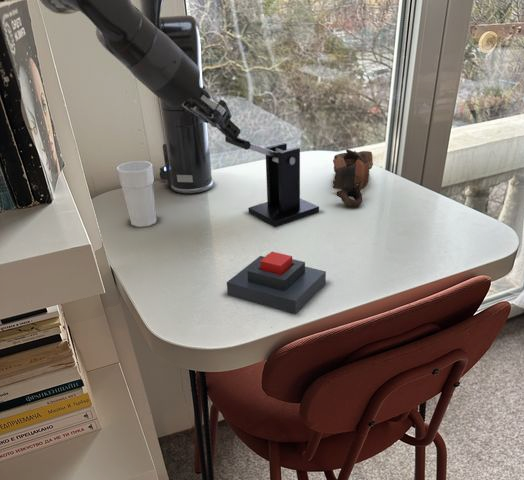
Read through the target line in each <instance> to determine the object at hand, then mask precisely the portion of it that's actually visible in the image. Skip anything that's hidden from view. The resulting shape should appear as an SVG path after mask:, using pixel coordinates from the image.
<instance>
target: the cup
mask: <svg viewBox="0 0 524 480" xmlns="http://www.w3.org/2000/svg"><path fill="white" fill-rule="evenodd" d="M153 168H154V167H153V164H152V163H151V162H150V161H146V160H134V161H132V160H131V161H127V162H123V163H120V164H119V165H118V166H117V167H116V172H117V176H118V180H119V184H120V186H121V188H122V193H123V196H124V199H125V204H126V209H127V211H128V215H129V219H130V224H131V226H134V227H137V228H142V227H150V226H152V225H154V224H156V223H157V211H156V203H155V192H154V182H155V177H154V169H153Z"/></svg>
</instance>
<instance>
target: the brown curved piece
mask: <svg viewBox="0 0 524 480" xmlns="http://www.w3.org/2000/svg"><path fill="white" fill-rule="evenodd" d="M356 152H357V151H356ZM346 153H347V152H341V153H337V154H335V155H334V156H333V160H334V159H338V158H343V159H344V156H345V155H346ZM357 153H362V154H364V155H365V157H366V158H367V161H368V165H369V170H371V169H372V168H373V166H374V160H373V152H372V151H368V150H362V151H358V152H357ZM357 160H360V159H359V158H358V157H357V158H355V159H345V160H344V162H345V163H346V165H349V164H355V162H356V161H357ZM333 172H334V173H335V167H334V166H333Z"/></svg>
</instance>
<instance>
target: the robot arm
mask: <svg viewBox="0 0 524 480" xmlns="http://www.w3.org/2000/svg"><path fill="white" fill-rule="evenodd" d="M139 1H140V3H139V4H140V9H138V8H137V7H136V6H135V5H134V4H133V3H132V1H131V0H39V2H40V3H41V4H42V5H43V6H44V7H45V8H46V9H47V10H49V11H50V12H52V13H54V14H57V15H58V14H59V15H72V14H75V13H79V12H81V13H82V14H83V15H84V16H85V17H87V19H88V20H90V22H91V23H92V24H93V25H94V26H95V36H96V39H97V41H98V42H99V43H100V44H101V46H102V47H103V48H104V49H105V50H106V51H107V52H108V53H110V54H111V55H112V56H113V57H114V58H115V59H116V60H117V61H119V63H120V64H122V65H123V66H124V67H126V69H127V70H128V71H129V72H130V73H131V74H132V75H133V76H134V77H135V78H136V79H137V80H138V81H139V82H140V83H141V84H142V85H143V86H145V87H146V88H147V89H148V90H149V91H150V92H151V93H153V94H154V95H155V96H156V97H157V98H159V105H160V107H159V108H160V113H161V121H162V128H163V133H164V134H163V135H164V140H165V141H164V142H165V143H163V144H162V153H163V157H164V158H163V160H164V165H163V166H161V167H160V168H159V177H160V179H161V180H164V181H166V182H167V188H169V189H171V190H172V191H173V192H175V193H178V194H188V195H189V194H199V193H203V192H206V191H208V190H210V189H212V188H213V186H214V180H213V175H212V162H211V152H210V142H209V133H208V132H209V131H208V124H210V126H211V127H212V128H216V129H217V130H218V131H219V132H221V134H223V135H224V136H225V137H227V138H228V139H231V140H233V141H235V140H236V139H237V137H238V138H239V136H240V134H241V129H240V128H239V127H238V126H237V125H236V124H235V123H234V122H233V121H232V120H231V119H232V117H233V115H232V112H231V110H230V109H229V106H228V104H227V102H226V101H225V100H222V99H220V100H218V99H216V97H214V96H213V92H212V91H211V90H210V89H209V88H207V87H206V86H204V80H203V70H202V68H203V67H202V66H203V65H202V46H201V45H202V44H201V33H200V29H199V25H198V24H199V23H198V22H197V20H196V18H195V17H194V16H193V15H190V14H188V15H187V14H185V15H169V16H161V12H162V6H163V3H164V0H139Z"/></svg>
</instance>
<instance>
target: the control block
mask: <svg viewBox="0 0 524 480" xmlns="http://www.w3.org/2000/svg"><path fill="white" fill-rule="evenodd" d="M267 255H268V254H266V255H265V256H263V255H260V256H258V257H257V258H256V259H254V260H253V261H252V262H250V263H249V264H248V265H247V266H246V267H244V268H243V269H242V270H240V271H239V272H238V273H236V274H234V276H232V277H231V278H230V279H229V280H228V281H226V289H227V290H226V291H227V295H228V296H232V297H235V298H237V299H242V300H246V301H248V302H253V303H256V304H259V305H263V306H267V307H270V308H274V309H278V310H282V311H285V312H288V313H291V314H297V313H298V312H299V311H300V310H301V309H302V308H303V307H304V306H305V305H306V304H307V303H308V302H309V301H310V300H311V299H312V298H313V297H314V296H315V295H316V294H317V293H318V292H319V291H320V290H321V289H322V288H323V287H324V286H325V285H326V280H327V271H326V270H321V269H317V268H314V267H309V266H306V261H302V260H298V259H294V258H292V267H290V268H289V269H288V270H287V271H286V272H285V273H284V274H282V275H279V274H275V273H271V272H267V271H263V270H261V269H260V261H261V260H262V259H263V258H265V257H266V256H267Z"/></svg>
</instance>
